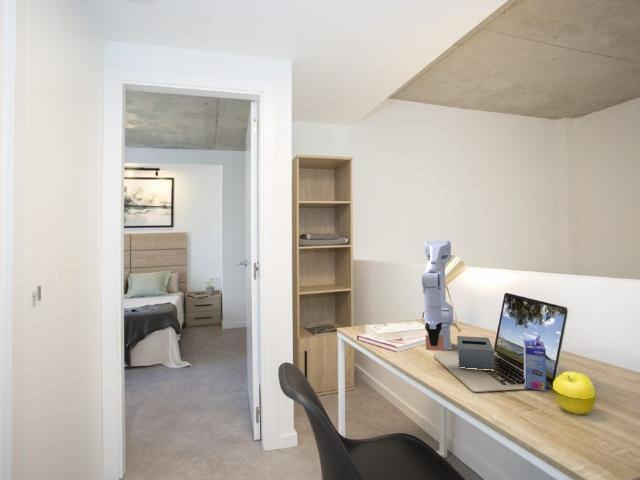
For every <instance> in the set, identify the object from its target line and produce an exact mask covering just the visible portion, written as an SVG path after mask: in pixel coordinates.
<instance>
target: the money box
mask: <svg viewBox="0 0 640 480" xmlns="http://www.w3.org/2000/svg"><path fill="white" fill-rule="evenodd" d="M456 340H457V341H456V343H457V344H456V346H457V348H456V350H457V360H459V361H458V368H459V367H465V368H477V369H493V370H496V367H495V350H494V347H493V346H492V343H491V340H490V338H489V337H485V336H483V337H482V336H481V337H480V336H468V335H467V336H464V335H463V336H462V335H457V336H456Z"/></svg>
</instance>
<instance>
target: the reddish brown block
mask: <svg viewBox="0 0 640 480" xmlns="http://www.w3.org/2000/svg"><path fill="white" fill-rule="evenodd" d="M426 350H427V351H435V352H436V351H440V352H445V350H444V337H443V335H439V338H438V345H437V346H431V344H430V340H429V335H428V333H426V334H425V351H426Z"/></svg>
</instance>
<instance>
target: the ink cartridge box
mask: <svg viewBox="0 0 640 480" xmlns="http://www.w3.org/2000/svg"><path fill="white" fill-rule="evenodd" d="M546 354H547V353H546V348H545V345H544V341H541V336H540V335H537V337H536V338H535V339H533V340H532V339H523V380H524V379H525V382H524V386H525V387H524V388H525V389H530V390H536V391H541V392H547V369H546V368H547V361H546Z"/></svg>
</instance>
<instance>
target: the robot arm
mask: <svg viewBox="0 0 640 480" xmlns="http://www.w3.org/2000/svg"><path fill="white" fill-rule="evenodd" d="M424 243H425V244H424V252H425V255H426V258H427V262H426V266H425V271H424V274H422V275H421V285H422V294H423V298H424V299H423V300H424V317H422V318H421V322H425V324H424V328H425V331H426V332H427V333H426V334H428V335H429V340H430V344H431V346H437V345H438V338H439V335H443V337H444V351H446V350H447V351H452V350H453V346H452V345H453V344H452V342H451V340H452V339H451V326H453V324H454V309H453V305H451V304H450V303H449V302H447V301H446V299H447V298H446V265H447V262H450V261H451V259H452V244H451V241H450V240H449V239H448V240H426V241H425V242H424Z"/></svg>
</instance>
